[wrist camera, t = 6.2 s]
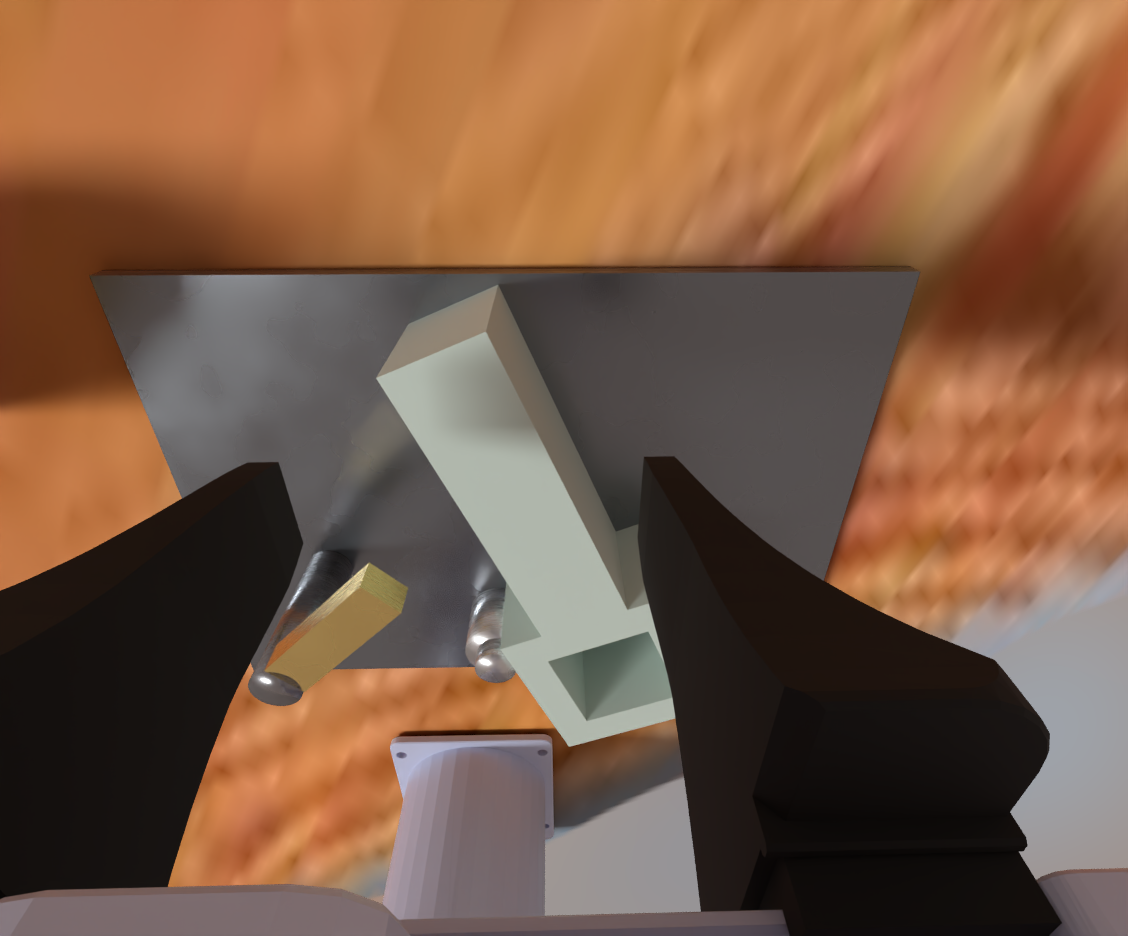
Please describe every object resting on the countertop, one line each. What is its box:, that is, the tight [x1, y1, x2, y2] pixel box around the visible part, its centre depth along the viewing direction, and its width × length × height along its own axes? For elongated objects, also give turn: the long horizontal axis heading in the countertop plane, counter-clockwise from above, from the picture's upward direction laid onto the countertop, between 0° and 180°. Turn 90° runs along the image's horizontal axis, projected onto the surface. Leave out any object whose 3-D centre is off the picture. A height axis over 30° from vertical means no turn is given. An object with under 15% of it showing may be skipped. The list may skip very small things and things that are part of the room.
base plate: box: [90, 266, 920, 670], centre depth 22 cm, size 17×24×1 cm
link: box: [376, 285, 675, 747], centre depth 20 cm, size 16×6×4 cm, turn 23°
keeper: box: [248, 550, 408, 706], centre depth 20 cm, size 2×6×6 cm, turn 134°
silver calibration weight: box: [465, 588, 516, 683], centre depth 24 cm, size 2×2×4 cm
